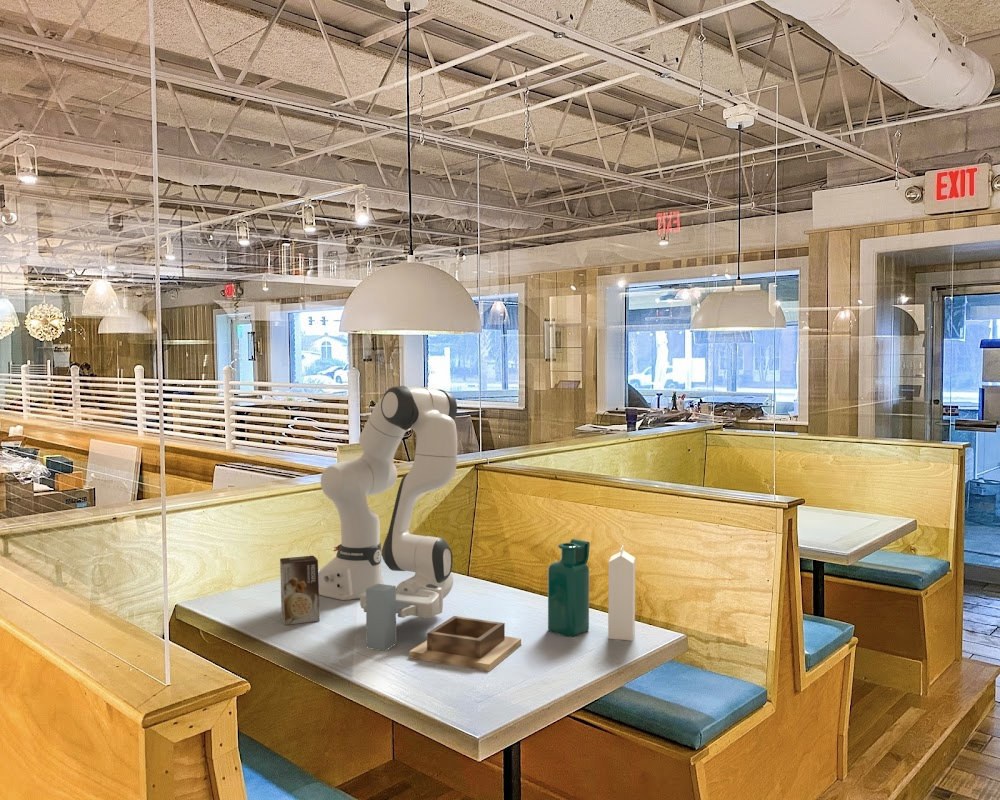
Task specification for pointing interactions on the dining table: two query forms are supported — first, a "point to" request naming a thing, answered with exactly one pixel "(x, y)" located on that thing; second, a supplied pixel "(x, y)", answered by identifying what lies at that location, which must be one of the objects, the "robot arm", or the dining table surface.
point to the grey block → (381, 616)
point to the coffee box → (299, 590)
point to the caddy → (467, 644)
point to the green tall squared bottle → (569, 590)
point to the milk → (621, 596)
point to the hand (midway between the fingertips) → (382, 611)
